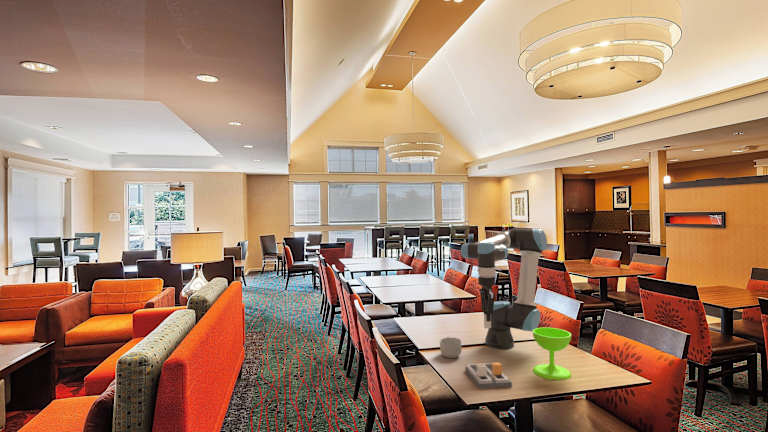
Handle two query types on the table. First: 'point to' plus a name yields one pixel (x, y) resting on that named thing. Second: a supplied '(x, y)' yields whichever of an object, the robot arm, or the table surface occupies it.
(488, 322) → the robot arm
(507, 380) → the console
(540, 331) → the wineglass
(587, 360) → the table surface
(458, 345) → the teacup
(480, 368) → the fader
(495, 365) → the fader
